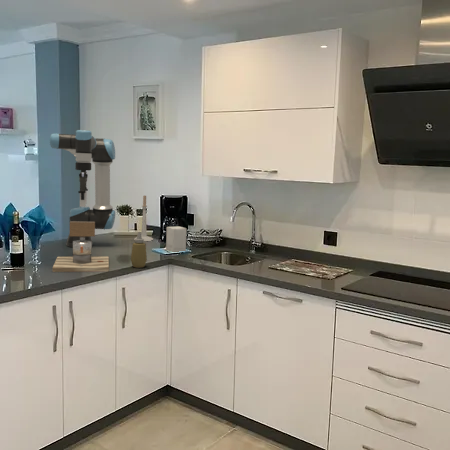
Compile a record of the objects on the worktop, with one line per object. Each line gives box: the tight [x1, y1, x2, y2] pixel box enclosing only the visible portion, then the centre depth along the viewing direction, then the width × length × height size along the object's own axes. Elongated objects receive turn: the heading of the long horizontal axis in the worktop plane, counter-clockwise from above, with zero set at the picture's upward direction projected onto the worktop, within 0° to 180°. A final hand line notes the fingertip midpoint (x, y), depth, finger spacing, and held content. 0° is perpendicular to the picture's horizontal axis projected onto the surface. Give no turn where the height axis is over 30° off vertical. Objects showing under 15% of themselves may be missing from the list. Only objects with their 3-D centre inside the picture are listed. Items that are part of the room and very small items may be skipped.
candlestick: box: [133, 195, 154, 242], centre depth 337 cm, size 13×13×30 cm
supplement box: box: [165, 226, 187, 252], centre depth 302 cm, size 9×9×15 cm
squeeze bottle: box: [130, 231, 148, 268], centre depth 261 cm, size 8×8×18 cm
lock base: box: [52, 253, 110, 273], centre depth 258 cm, size 26×26×6 cm
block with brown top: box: [69, 220, 96, 255], centre depth 256 cm, size 10×12×16 cm
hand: (83, 205), depth 254 cm, fingers open, 13 cm apart
